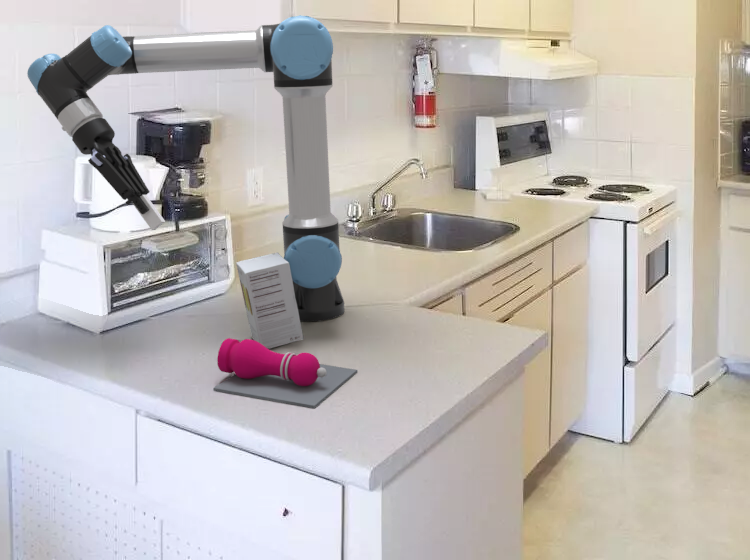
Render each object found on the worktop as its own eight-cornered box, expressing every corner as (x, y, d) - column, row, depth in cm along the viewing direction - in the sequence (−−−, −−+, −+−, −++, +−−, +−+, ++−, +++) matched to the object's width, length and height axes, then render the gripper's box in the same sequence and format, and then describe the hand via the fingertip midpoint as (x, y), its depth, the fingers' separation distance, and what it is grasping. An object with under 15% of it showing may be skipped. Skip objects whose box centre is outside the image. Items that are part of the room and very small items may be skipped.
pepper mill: (238, 346, 160) (336, 364, 154) (225, 380, 157) (325, 400, 151) (225, 328, 154) (327, 346, 148) (211, 363, 151) (314, 383, 145)
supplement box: (250, 337, 178) (234, 261, 173) (292, 325, 181) (277, 250, 176) (261, 351, 170) (244, 272, 164) (304, 339, 172) (289, 261, 167)
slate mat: (213, 390, 150) (213, 387, 150) (264, 357, 166) (264, 355, 166) (314, 408, 143) (314, 405, 143) (357, 372, 159) (357, 369, 159)
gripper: (91, 141, 171) (159, 235, 171) (55, 138, 159) (128, 239, 158) (117, 118, 170) (186, 212, 169) (83, 113, 157) (158, 216, 157)
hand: (158, 225), depth 164 cm, fingers closed
